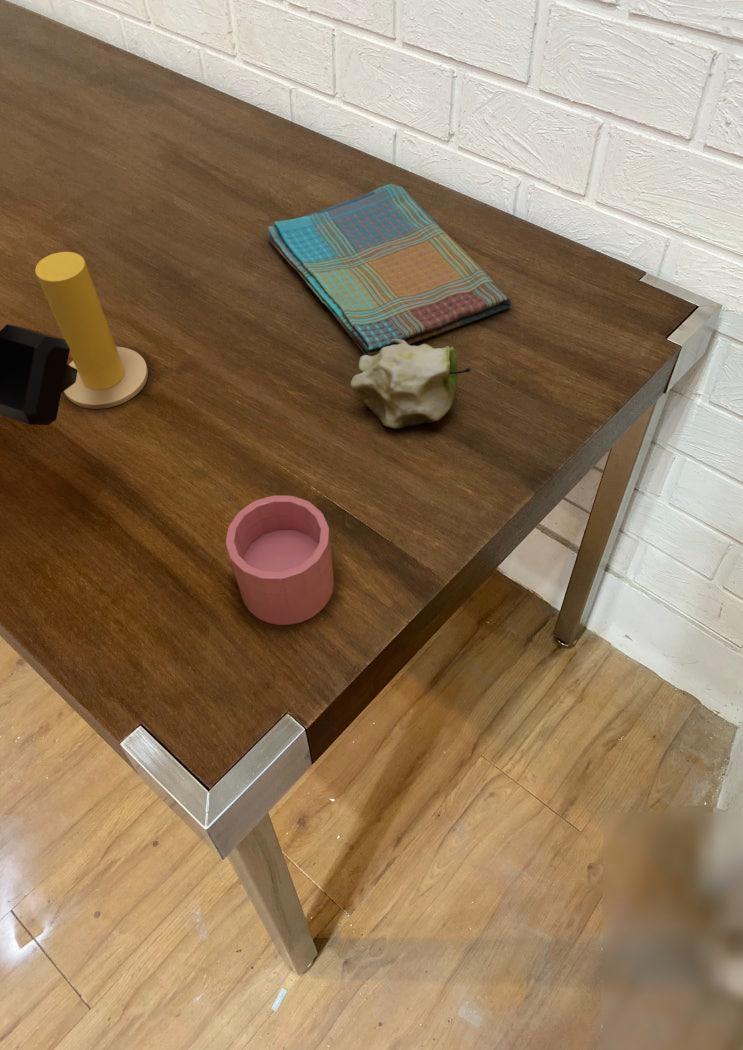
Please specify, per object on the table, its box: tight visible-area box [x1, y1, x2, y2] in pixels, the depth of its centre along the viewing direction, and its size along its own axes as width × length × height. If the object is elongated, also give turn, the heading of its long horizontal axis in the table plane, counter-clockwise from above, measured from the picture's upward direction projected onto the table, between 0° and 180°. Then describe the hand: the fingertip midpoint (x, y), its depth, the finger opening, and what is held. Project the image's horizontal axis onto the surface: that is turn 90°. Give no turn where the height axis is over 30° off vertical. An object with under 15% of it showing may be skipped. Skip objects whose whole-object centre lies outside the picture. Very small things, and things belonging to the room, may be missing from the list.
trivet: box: [63, 346, 149, 410], centre depth 74 cm, size 8×8×1 cm
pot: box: [225, 495, 335, 626], centre depth 57 cm, size 7×7×6 cm
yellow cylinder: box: [34, 251, 125, 390], centre depth 69 cm, size 4×4×12 cm
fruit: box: [350, 339, 472, 430], centre depth 69 cm, size 9×9×8 cm
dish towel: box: [266, 183, 512, 356], centre depth 82 cm, size 17×23×2 cm
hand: (28, 361), depth 64 cm, fingers open, 9 cm apart
